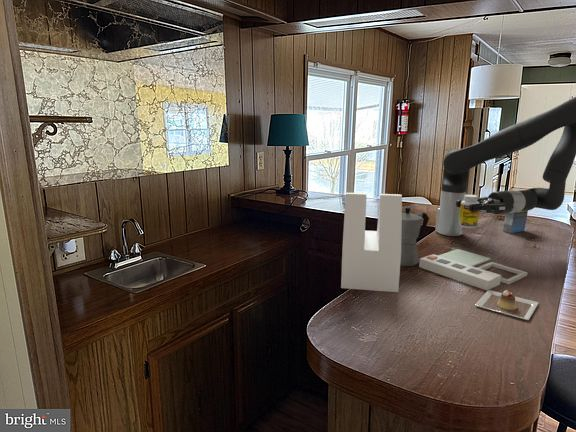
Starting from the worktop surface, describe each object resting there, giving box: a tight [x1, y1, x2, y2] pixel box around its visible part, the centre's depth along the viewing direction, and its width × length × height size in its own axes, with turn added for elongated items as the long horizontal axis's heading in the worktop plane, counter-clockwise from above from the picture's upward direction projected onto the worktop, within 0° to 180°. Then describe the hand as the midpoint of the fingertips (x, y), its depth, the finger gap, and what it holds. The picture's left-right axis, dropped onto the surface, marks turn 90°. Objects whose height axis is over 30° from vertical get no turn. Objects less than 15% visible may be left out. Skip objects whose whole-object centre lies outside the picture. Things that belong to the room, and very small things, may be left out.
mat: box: [438, 248, 492, 267], centre depth 138 cm, size 12×12×1 cm
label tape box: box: [502, 210, 529, 234], centre depth 168 cm, size 9×4×12 cm, turn 118°
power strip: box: [418, 253, 502, 291], centre depth 124 cm, size 22×10×3 cm, turn 37°
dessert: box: [474, 289, 540, 321], centre depth 104 cm, size 12×12×5 cm
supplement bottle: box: [459, 194, 480, 229], centre depth 134 cm, size 6×6×10 cm
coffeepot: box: [400, 207, 430, 267], centre depth 134 cm, size 15×9×18 cm, turn 115°
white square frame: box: [477, 261, 528, 285], centre depth 125 cm, size 11×11×1 cm
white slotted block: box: [340, 192, 403, 293], centre depth 120 cm, size 19×15×25 cm
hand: (463, 205), depth 133 cm, fingers closed on supplement bottle, 5 cm apart
